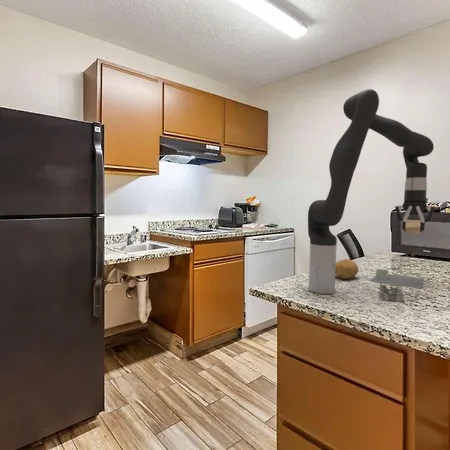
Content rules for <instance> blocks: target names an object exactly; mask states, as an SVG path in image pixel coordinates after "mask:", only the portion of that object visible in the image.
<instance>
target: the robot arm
mask: <svg viewBox="0 0 450 450" xmlns="http://www.w3.org/2000/svg"><path fill="white" fill-rule="evenodd" d="M379 105H380V98H379V94H378V93H377V91H376V90H375V89H373V88H372V89H371V88H367V89H364V90H361V91H359V92H358V93H355V94H354V95H352V96H350V97H348V98H347V99H346V100H345V101H344V104H343V114H344V115H345V117H346V118H347V119H348V120H350V121H351V122H350V124H349V125H348V127H347V128H346V130H345V131H344V133H343V134H342V135H341V137H340V139H339V140H338V141H337V143H336V145H335V146H334V149H333V151H332V153H331V158H330V160H329V165H328V166H329V168H328V169H329V170H328V171H329V174H330V189H329V191H328V194H327V197H326V199H319V200H314V201H313V202H312V203H311V204H310V205H309V207H308V212H307V234H308V238H309V239H310V240H309V261H308V262H309V264H308V265H309V268H308V290H309V291H310V292H312V293H316V294H323V295H325V294H328V295H331V294H332V295H333V294H335V291H336V290H335V289H336V274H335V271H336V262H337V247H338V246H337V244H338V239H337V236H336V235H334V233H332V231H331V229H330V227H334V226H336V225H338V224H339V223H340V222H341V220H342V218H343V216H344V212H345V207H346V203H347V199H348V193H349V189H350V186H351V183H352V180H353V176H354V173H355V170H356V167H357V165H358V161H359V159H360V156H361V152H362V150H363V147H364V144H365V140H366V138H367V135H368V132H369V129H370V130H372V131H373V132H375V133H377V134H379V135H381V136H383V138H386V139H387V140H389V141H390V142H391V143H393V144H394V145H396V146H397V147H398V148H399V147H400V148H403V149H402V154H403V155H402V156H403V160H404V165H405V168H406V172H405V173H406V174H405V175H406V176H405V181H404V182H405V183H404V192H403V193H404V194H403V196H404V197H403V203H402V205H395V207H394V208H395V214H396V218H397V220H398V221H400V222H402V225H401V226H402V228H401V229H402V231H403V232H405V228H406V220H408V218H409V216H411V215H416V216H417V215H418V217H419V220H421V225H420V233H422V232H423V231H425V223H427V222H430V221H431V220H432V216H433V214H434V211H435V206H430V205H428V204H427V190H428V189H427V188H428V181H427V178H428V177H427V175H428V165H427V164H426V163H424V162H420V161H419V158H421V157H427V156H429V155H430V154H431V153H432V152H434V151H433V150H434V143H433V141H432V139H431V138H429V137H428V136H426V135H424V134H421V133H419V132H416V131H413V130H411V129H410V128H409V127H407V126H406V125H405V124H403V123H401V122H400V121H398V120H395V119H392V118H388V117H385V116H382V115H378V114H377V112H378V110H379ZM426 209H427V212H428V215H427V218H425V217H424V213H423V212H424V211H425V210H426ZM402 210H404V211H405V214H404V216H403V217H402V214H401V211H402Z"/></svg>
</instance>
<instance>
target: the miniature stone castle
mask: <svg viewBox="0 0 450 450" xmlns="http://www.w3.org/2000/svg"><path fill="white" fill-rule="evenodd" d="M378 288H379V289H378V291H379V296H380V300H384V301H393V302H396V303H401V302H404V301H403V300H404V289H403V287H393V286H390V288H388V286H387V284H383V283H379V287H378Z"/></svg>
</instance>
